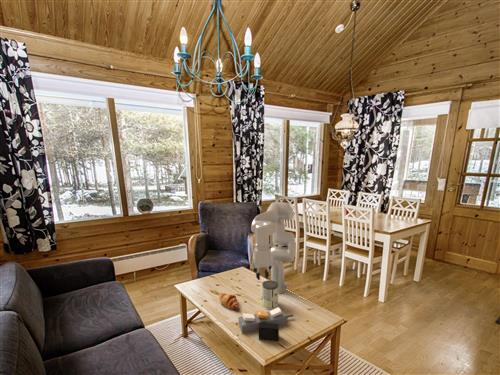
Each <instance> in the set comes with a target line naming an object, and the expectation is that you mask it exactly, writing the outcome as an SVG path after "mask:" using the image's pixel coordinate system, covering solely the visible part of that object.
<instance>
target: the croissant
mask: <svg viewBox="0 0 500 375" xmlns="http://www.w3.org/2000/svg"><path fill="white" fill-rule="evenodd" d="M219 302H220V304H221V305H223V306H224V307H225V308H228V309H231V310H238V309H239V307H240V306H239V302H238V299H237V296H236V295H235V294H234V293H226V292H221V293H220V294H219Z"/></svg>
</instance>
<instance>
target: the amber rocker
mask: <svg viewBox="0 0 500 375" xmlns="http://www.w3.org/2000/svg"><path fill="white" fill-rule="evenodd" d="M267 312H268V311H264V310H262V311H261V310H256V313H255V314H257V316H258V318H267V319H268V317H269V315H268V314H267Z"/></svg>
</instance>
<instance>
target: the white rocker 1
mask: <svg viewBox="0 0 500 375" xmlns="http://www.w3.org/2000/svg"><path fill="white" fill-rule="evenodd" d="M242 317H243V318H244V320H246V321H255V317H254V314H253V313H245V312H244V313H242Z"/></svg>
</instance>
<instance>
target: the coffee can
mask: <svg viewBox="0 0 500 375" xmlns="http://www.w3.org/2000/svg"><path fill="white" fill-rule="evenodd" d="M261 286H262V289H261V290H262V294H261V295H262V297H261V298H262V306H263V308H265V309H267V310H273V309H276V308H278V307H279V293H278V283H277V282H275V281H272V280H271V279H269V280H268V279H267V280H264V281H263V282H262V285H261Z"/></svg>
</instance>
